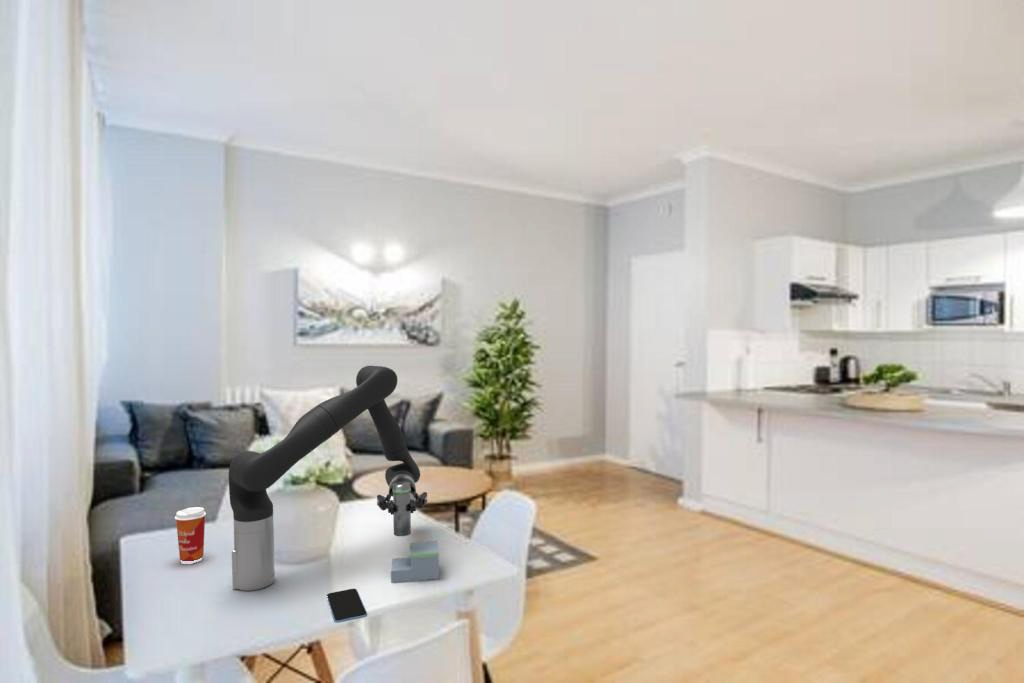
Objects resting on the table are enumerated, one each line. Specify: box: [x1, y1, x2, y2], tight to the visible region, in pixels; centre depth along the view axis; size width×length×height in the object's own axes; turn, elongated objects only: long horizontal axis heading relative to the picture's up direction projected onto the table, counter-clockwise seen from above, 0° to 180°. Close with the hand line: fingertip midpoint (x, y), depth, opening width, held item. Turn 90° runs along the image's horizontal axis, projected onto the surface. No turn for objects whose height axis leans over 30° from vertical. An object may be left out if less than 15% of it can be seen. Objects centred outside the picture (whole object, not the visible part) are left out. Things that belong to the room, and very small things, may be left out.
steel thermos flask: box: [392, 482, 412, 537], centre depth 155 cm, size 5×5×13 cm
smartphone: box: [326, 588, 368, 624], centre depth 139 cm, size 7×1×15 cm
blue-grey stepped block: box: [390, 540, 440, 584], centre depth 155 cm, size 12×8×7 cm
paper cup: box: [174, 506, 207, 561], centre depth 165 cm, size 8×8×14 cm
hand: (402, 510), depth 152 cm, fingers closed on steel thermos flask, 4 cm apart
